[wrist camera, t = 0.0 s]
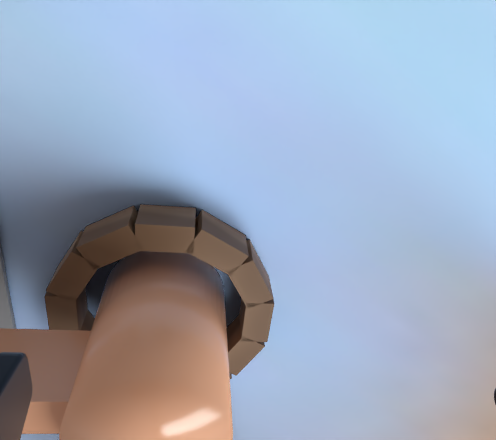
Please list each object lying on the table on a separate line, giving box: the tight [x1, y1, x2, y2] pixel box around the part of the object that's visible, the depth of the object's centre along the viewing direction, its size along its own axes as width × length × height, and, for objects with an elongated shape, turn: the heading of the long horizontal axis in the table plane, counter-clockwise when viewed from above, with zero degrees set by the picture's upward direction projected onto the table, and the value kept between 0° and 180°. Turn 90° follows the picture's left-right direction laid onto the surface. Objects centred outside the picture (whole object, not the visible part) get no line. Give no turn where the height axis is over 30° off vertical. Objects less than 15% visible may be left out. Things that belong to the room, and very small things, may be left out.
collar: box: [45, 204, 274, 379], centre depth 25 cm, size 12×12×2 cm
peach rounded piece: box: [0, 251, 233, 440], centre depth 21 cm, size 12×7×9 cm, turn 83°
